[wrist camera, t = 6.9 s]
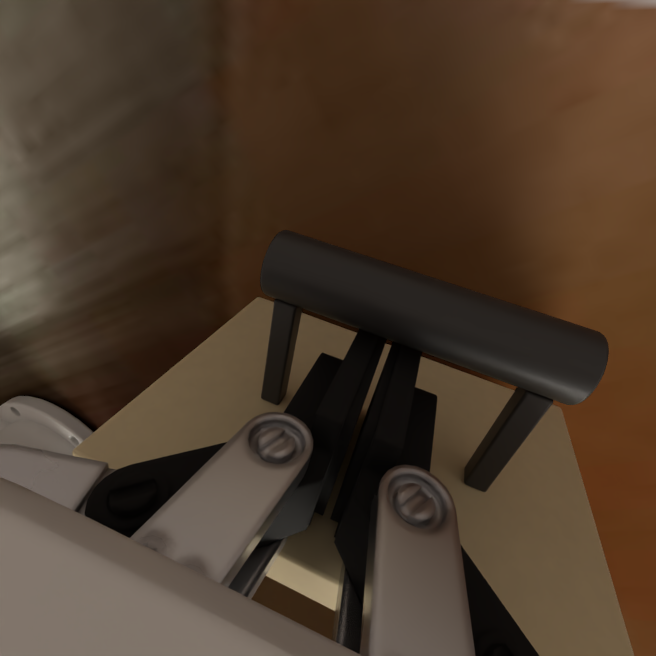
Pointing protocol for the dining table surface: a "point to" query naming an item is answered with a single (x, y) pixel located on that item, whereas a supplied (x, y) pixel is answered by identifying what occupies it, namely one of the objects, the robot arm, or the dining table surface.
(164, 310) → the dining table surface
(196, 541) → the robot arm
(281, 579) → the drawer
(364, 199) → the dining table surface
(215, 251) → the dining table surface
